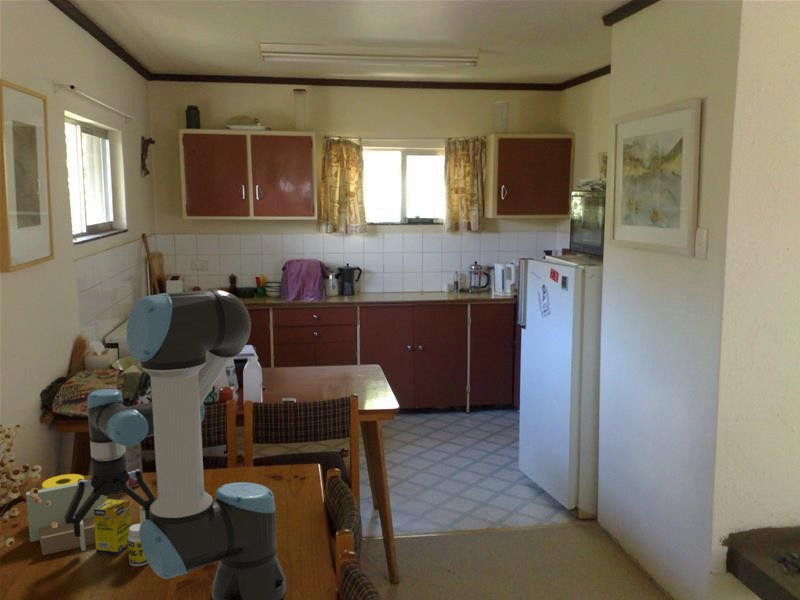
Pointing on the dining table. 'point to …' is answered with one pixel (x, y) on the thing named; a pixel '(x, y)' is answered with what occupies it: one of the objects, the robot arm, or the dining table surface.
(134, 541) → the supplement bottle
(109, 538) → the supplement box
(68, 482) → the yellow hollow cylinder
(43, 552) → the letter holder
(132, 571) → the dining table surface
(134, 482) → the juice carton
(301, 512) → the dining table surface
